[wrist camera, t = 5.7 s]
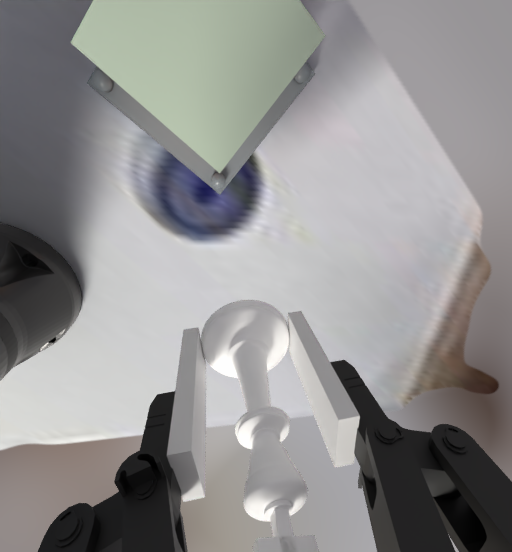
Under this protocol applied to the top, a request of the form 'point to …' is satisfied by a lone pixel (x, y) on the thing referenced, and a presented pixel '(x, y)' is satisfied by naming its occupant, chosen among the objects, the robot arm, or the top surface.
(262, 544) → the chess piece
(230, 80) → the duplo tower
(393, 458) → the robot arm
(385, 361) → the top surface
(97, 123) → the top surface
